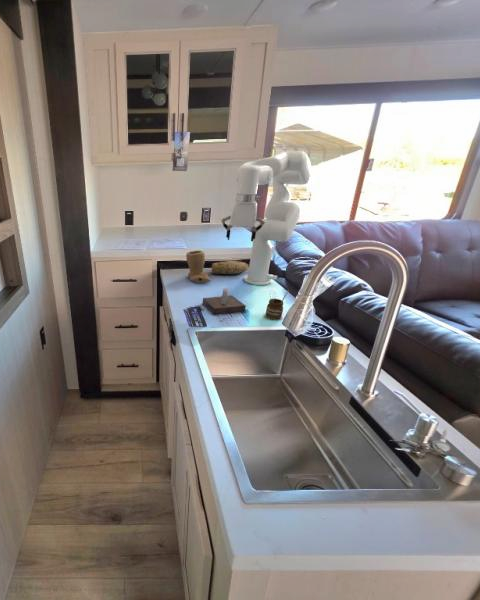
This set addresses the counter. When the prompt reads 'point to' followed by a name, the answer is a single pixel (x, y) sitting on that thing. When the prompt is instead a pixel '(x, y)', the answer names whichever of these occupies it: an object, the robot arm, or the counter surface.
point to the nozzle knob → (224, 296)
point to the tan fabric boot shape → (197, 266)
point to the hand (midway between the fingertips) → (240, 240)
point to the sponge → (229, 267)
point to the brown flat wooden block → (223, 305)
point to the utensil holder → (275, 308)
